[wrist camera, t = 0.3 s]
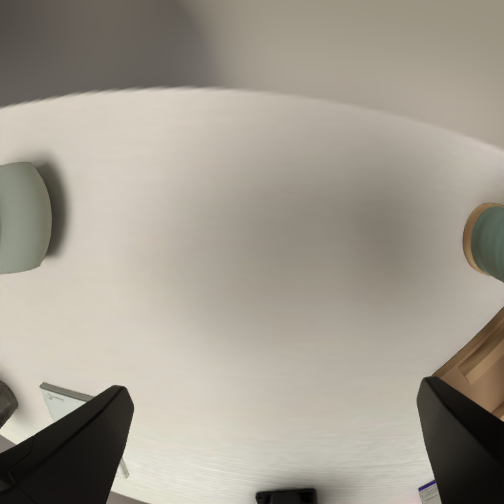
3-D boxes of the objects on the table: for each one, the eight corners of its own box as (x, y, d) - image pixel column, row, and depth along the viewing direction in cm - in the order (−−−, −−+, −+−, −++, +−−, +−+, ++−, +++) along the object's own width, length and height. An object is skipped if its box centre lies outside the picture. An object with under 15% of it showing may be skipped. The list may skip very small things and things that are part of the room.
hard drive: (37, 386, 26) (71, 462, 29) (96, 404, 25) (126, 480, 28) (45, 379, 28) (76, 455, 30) (104, 395, 27) (131, 471, 29)
